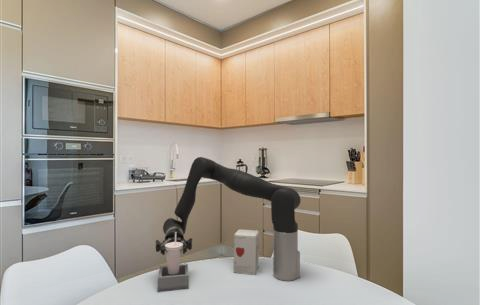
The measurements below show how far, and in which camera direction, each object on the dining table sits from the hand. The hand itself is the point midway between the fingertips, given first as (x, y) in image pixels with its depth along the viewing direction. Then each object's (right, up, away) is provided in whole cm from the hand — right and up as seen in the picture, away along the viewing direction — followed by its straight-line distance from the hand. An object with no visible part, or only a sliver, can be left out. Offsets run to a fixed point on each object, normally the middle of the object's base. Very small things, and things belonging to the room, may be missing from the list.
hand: (173, 251), depth 90 cm
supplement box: (+26, -13, +15) cm, 32 cm away
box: (-1, -12, +2) cm, 12 cm away
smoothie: (-1, -8, +2) cm, 9 cm away
